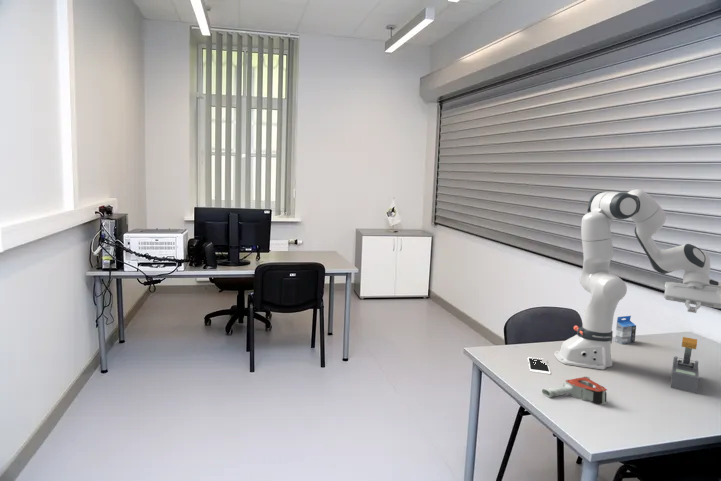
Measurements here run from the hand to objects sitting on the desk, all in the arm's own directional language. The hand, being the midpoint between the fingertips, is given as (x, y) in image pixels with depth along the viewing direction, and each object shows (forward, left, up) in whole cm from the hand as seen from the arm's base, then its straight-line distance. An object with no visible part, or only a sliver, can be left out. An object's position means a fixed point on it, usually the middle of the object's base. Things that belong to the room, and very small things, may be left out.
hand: (691, 311), depth 188 cm
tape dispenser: (-52, -31, -26) cm, 66 cm away
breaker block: (-6, -10, -25) cm, 28 cm away
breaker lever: (-6, -11, -18) cm, 22 cm away
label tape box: (-9, +34, -26) cm, 44 cm away
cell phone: (-59, -5, -26) cm, 64 cm away
